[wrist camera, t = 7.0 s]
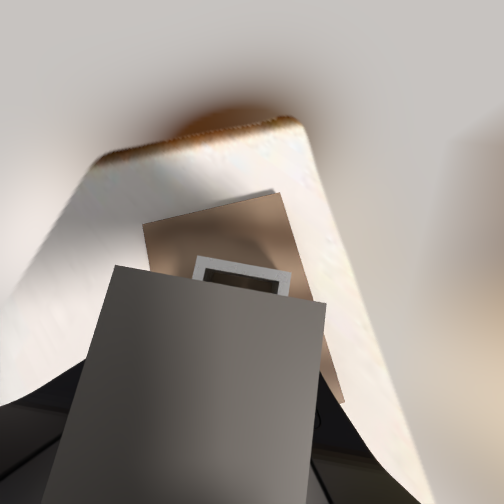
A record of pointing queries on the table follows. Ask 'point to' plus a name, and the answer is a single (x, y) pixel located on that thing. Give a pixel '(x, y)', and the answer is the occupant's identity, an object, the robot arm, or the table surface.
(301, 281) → the beige rectangular plate
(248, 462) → the pale green prism
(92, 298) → the table surface
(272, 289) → the hollow square tube
